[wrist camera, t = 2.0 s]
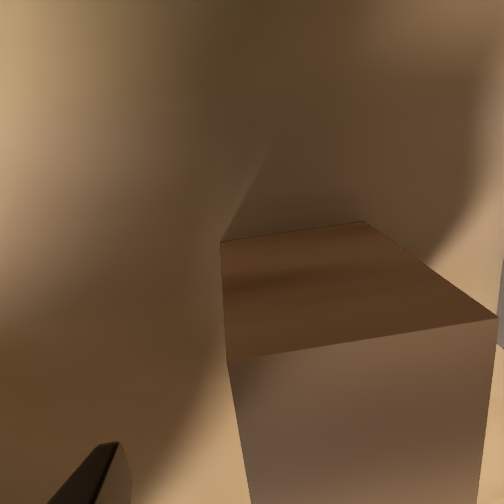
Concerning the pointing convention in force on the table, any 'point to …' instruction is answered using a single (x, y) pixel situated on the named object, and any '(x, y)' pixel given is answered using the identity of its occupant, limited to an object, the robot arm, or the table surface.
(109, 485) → the robot arm
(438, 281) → the walnut block
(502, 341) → the coaster
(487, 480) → the table surface
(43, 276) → the table surface
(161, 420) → the table surface
